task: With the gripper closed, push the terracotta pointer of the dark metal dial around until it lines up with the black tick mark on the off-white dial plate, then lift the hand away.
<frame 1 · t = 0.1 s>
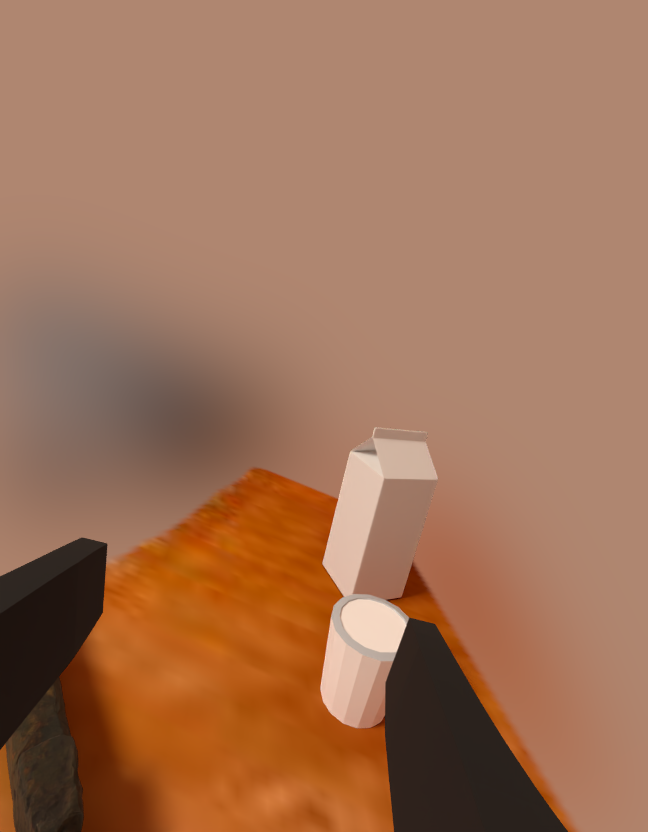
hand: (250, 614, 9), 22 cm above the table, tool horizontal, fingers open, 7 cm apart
white cylinder: (353, 695, 33), on the table
milk carton: (360, 582, 47), on the table
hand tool: (43, 741, 25), on the table
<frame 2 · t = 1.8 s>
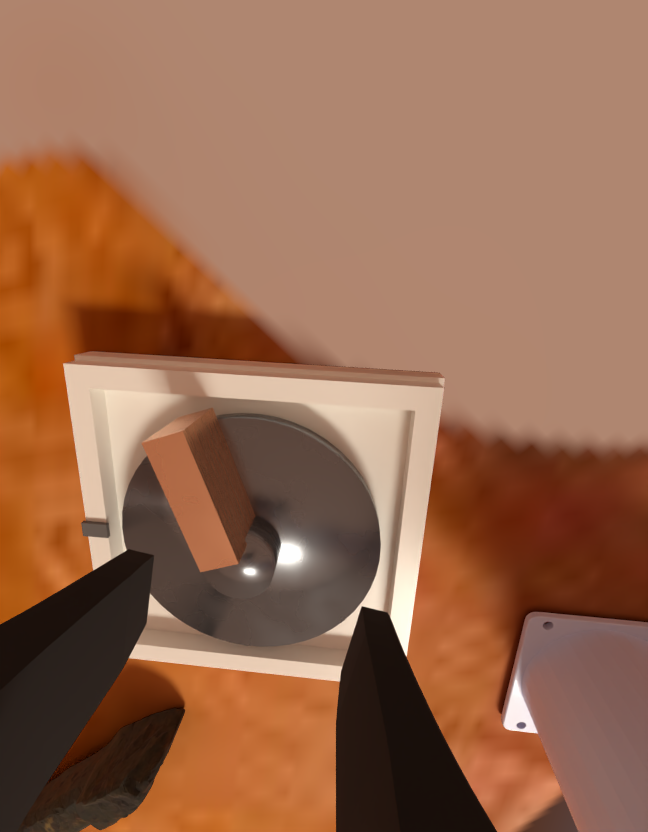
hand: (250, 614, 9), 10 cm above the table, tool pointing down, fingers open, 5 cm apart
dial plate: (260, 516, 21), on the table
dial: (240, 553, 17), point 3 cm above the table, hinge at -70.0°
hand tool: (92, 753, 28), on the table
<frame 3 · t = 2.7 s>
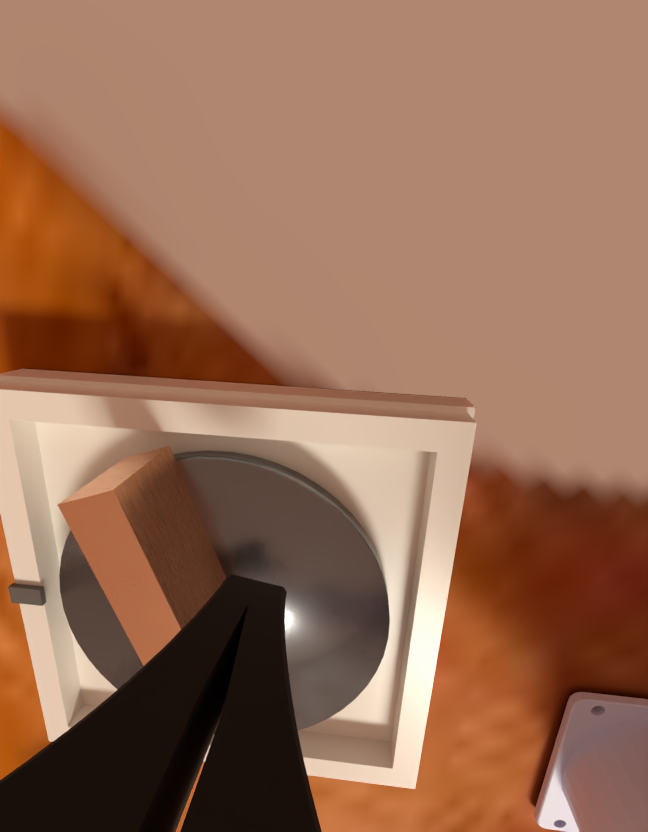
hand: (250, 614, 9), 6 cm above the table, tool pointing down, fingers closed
dial plate: (238, 572, 17), on the table
dial: (206, 634, 13), point 3 cm above the table, hinge at -70.0°
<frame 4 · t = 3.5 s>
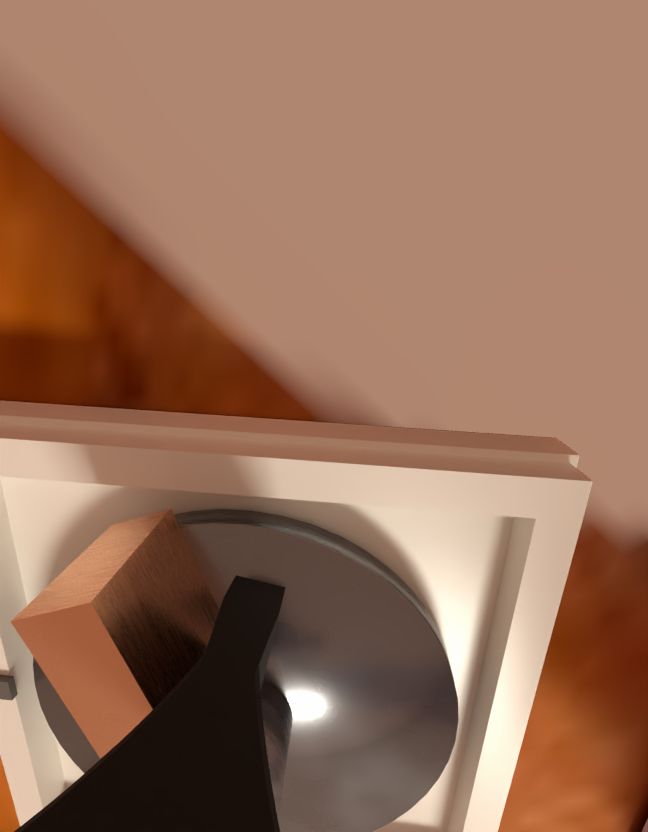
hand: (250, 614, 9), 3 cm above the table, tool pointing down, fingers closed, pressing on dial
dial plate: (258, 644, 13), on the table
dial: (224, 749, 10), point 3 cm above the table, hinge at -69.2°, touching gripper
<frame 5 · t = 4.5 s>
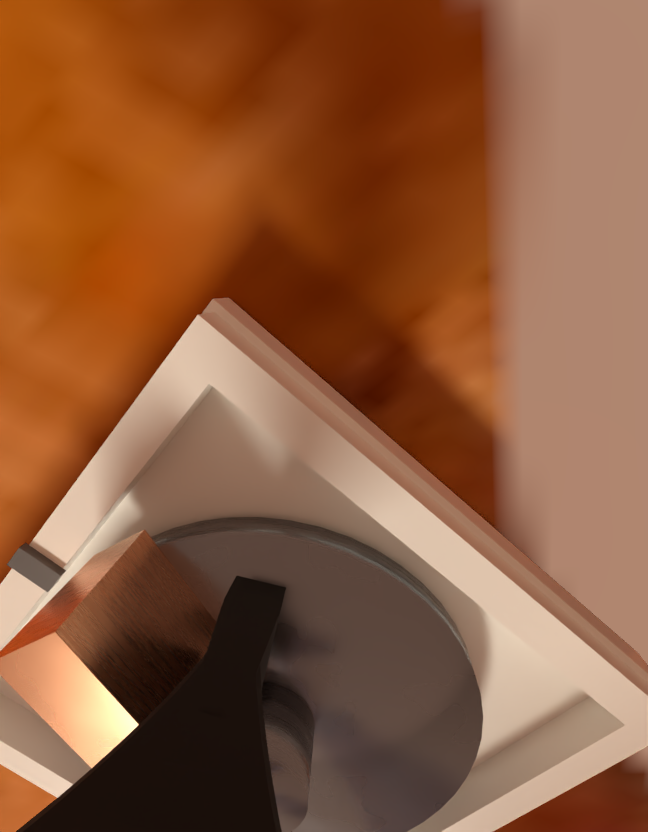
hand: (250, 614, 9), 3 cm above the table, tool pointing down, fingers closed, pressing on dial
dial plate: (276, 650, 13), on the table
dial: (246, 759, 10), point 3 cm above the table, hinge at -19.3°, touching gripper
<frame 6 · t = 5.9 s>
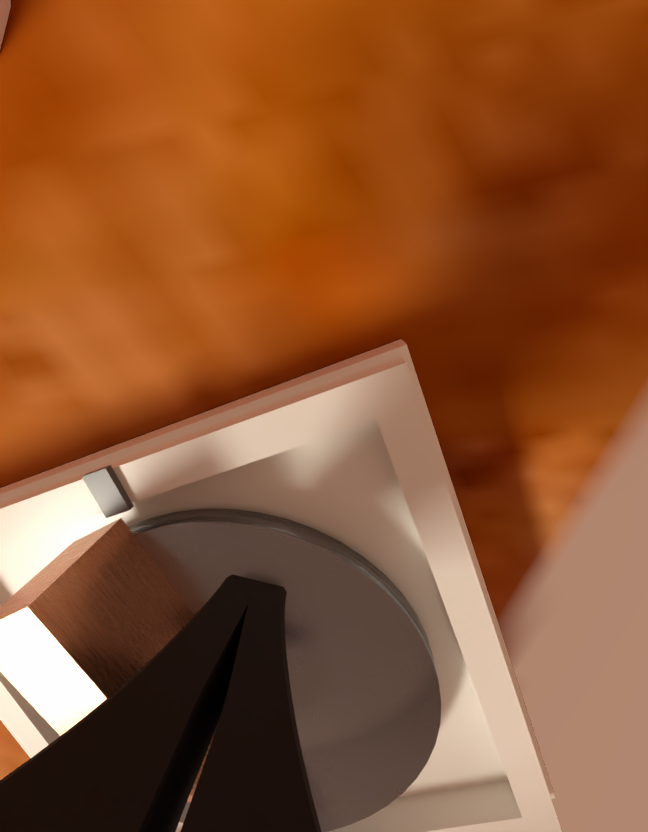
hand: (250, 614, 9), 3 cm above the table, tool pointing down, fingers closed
dial plate: (251, 639, 14), on the table
dial: (214, 738, 11), point 3 cm above the table, hinge at 7.5°
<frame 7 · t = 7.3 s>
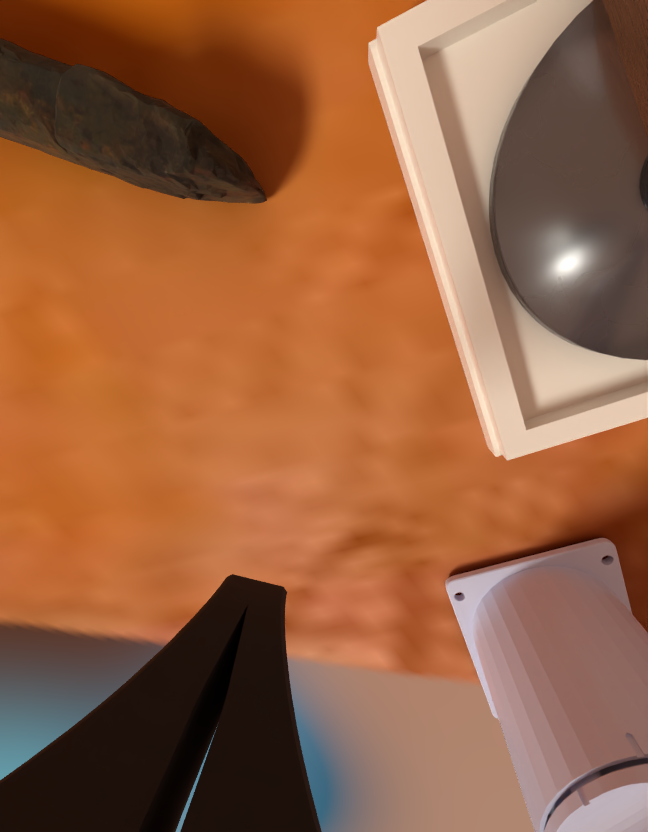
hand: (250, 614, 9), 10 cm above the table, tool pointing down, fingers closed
dial plate: (642, 191, 15), on the table
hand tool: (58, 107, 17), on the table
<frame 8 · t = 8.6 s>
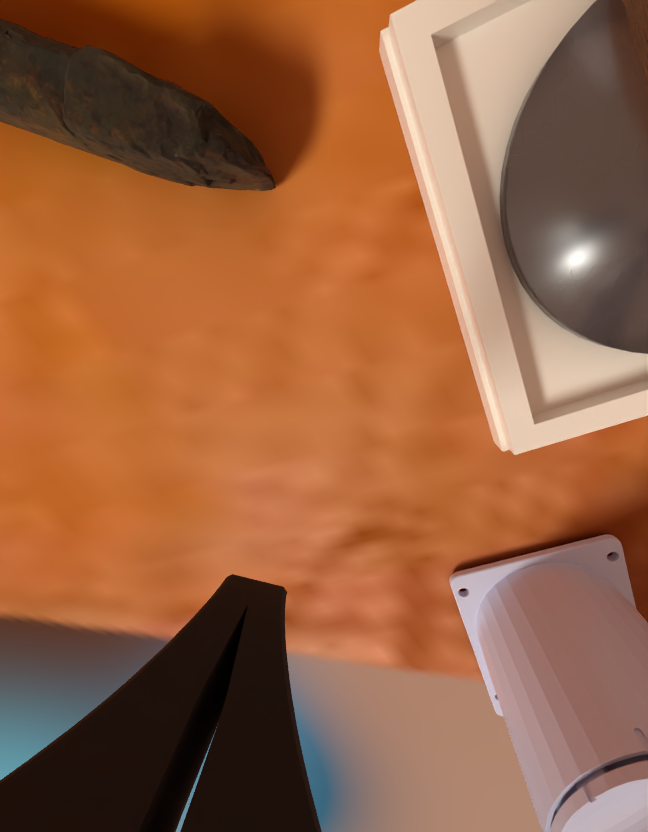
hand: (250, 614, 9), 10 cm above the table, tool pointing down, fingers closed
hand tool: (65, 94, 16), on the table
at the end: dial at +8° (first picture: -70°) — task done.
